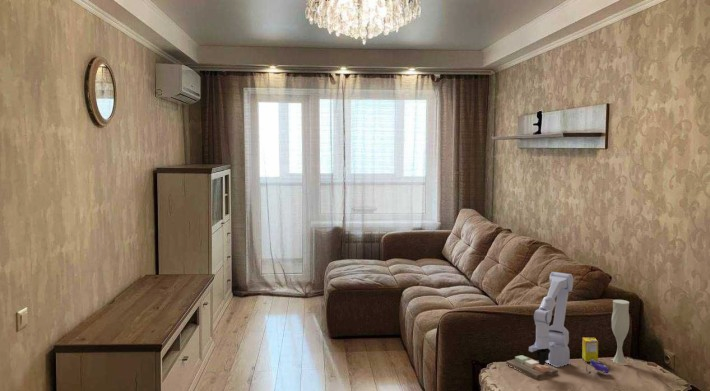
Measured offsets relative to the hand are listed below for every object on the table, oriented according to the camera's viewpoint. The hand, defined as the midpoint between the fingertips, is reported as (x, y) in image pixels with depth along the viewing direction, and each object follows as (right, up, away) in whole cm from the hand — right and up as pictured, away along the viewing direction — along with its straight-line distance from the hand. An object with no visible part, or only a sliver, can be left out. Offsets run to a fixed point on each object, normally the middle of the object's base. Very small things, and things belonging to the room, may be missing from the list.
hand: (541, 364), depth 261 cm
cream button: (-3, -3, +6) cm, 7 cm away
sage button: (-6, -3, +12) cm, 13 cm away
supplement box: (+29, -3, +16) cm, 33 cm away
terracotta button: (0, -3, 0) cm, 3 cm away
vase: (+42, -3, +14) cm, 45 cm away
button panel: (-3, -4, +6) cm, 8 cm away
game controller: (+26, -5, 0) cm, 26 cm away
